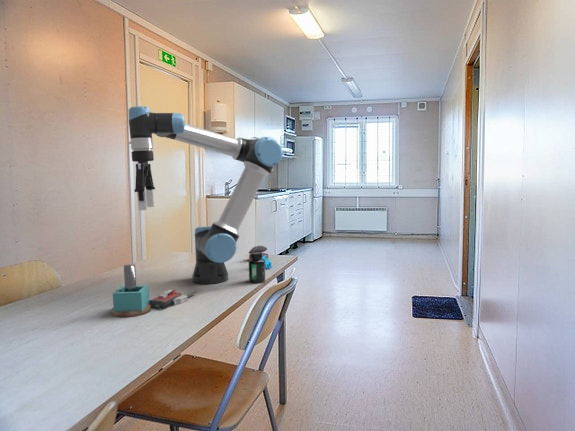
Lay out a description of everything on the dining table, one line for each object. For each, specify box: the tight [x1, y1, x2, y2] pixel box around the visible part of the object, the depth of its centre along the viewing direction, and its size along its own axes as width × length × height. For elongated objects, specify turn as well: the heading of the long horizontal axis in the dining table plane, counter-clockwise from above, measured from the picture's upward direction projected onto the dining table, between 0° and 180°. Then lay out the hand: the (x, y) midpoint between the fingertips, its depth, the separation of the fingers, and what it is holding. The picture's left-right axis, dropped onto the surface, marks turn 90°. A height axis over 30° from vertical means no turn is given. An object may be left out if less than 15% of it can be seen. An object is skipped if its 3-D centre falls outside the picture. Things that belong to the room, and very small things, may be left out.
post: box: [123, 263, 137, 292], centre depth 146 cm, size 4×4×14 cm
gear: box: [262, 254, 273, 270], centre depth 211 cm, size 11×6×10 cm
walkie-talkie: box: [149, 289, 198, 310], centre depth 158 cm, size 9×4×20 cm
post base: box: [111, 304, 152, 318], centre depth 147 cm, size 12×12×2 cm
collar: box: [112, 285, 150, 312], centre depth 147 cm, size 9×9×6 cm
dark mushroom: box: [248, 245, 269, 260], centre depth 229 cm, size 11×10×10 cm
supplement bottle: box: [248, 252, 266, 284], centre depth 184 cm, size 7×7×12 cm
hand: (146, 208), depth 163 cm, fingers open, 13 cm apart
